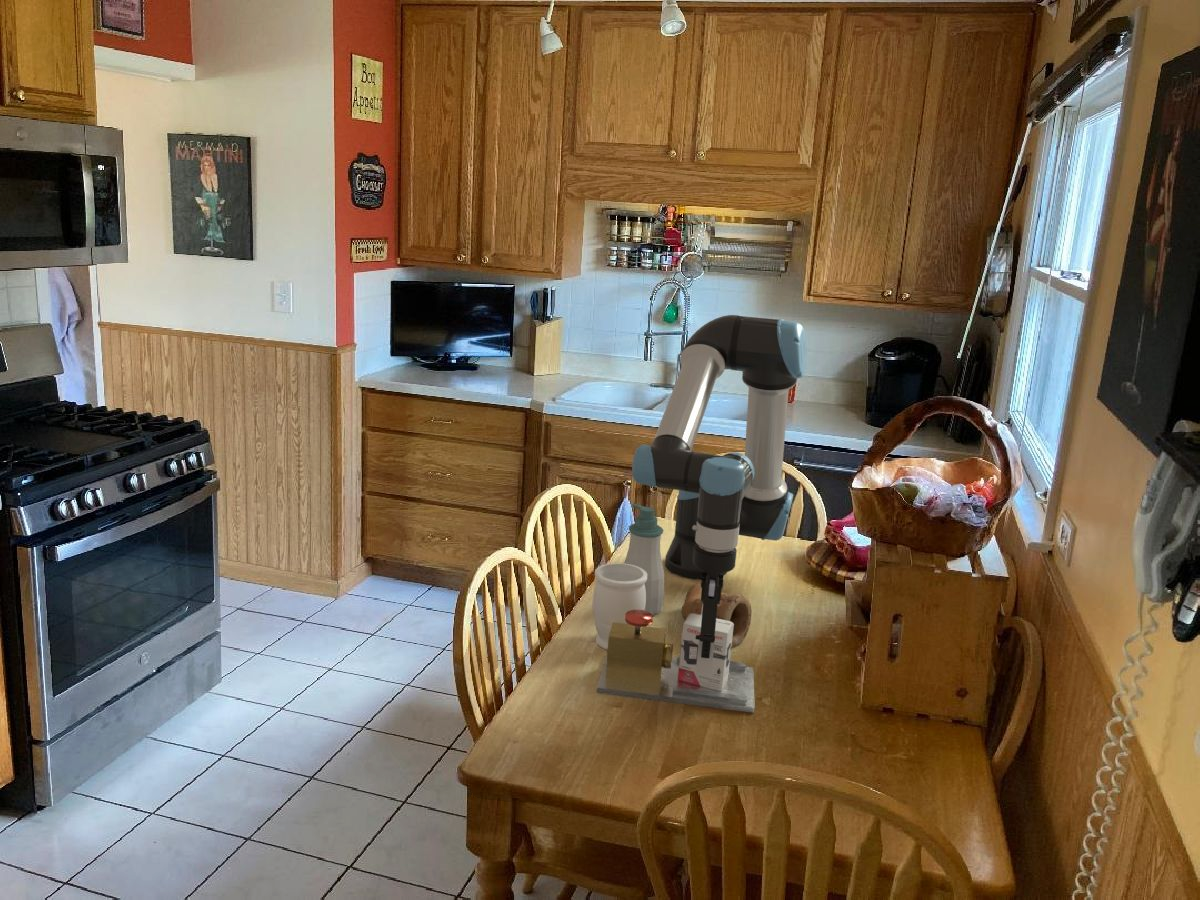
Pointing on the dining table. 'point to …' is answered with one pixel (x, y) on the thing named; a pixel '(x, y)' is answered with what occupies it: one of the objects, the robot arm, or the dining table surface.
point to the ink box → (719, 654)
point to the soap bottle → (648, 556)
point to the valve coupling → (664, 670)
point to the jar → (616, 596)
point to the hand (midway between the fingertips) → (704, 653)
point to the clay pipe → (722, 611)
